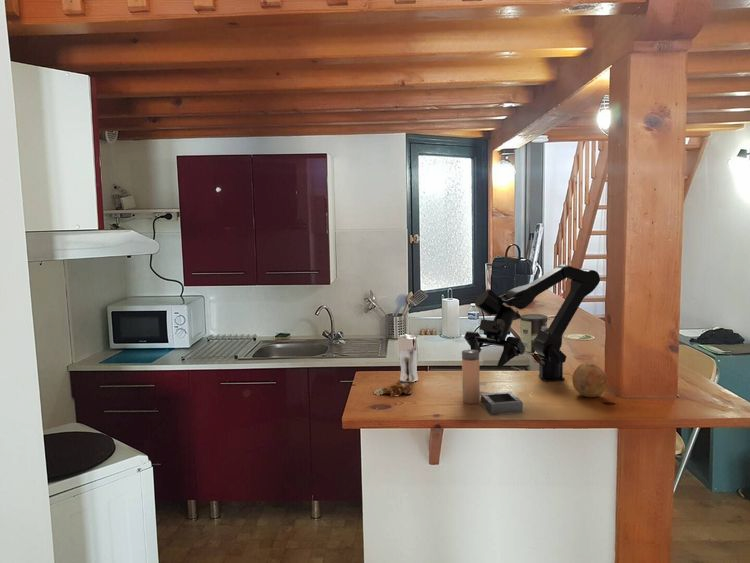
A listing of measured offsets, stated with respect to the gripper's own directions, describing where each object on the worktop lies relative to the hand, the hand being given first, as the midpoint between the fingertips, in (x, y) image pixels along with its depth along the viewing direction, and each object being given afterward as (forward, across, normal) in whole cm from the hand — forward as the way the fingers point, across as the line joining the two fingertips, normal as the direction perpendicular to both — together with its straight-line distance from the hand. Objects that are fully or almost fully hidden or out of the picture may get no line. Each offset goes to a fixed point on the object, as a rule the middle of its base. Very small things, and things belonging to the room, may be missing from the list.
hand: (484, 365), depth 170 cm
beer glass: (+8, -28, +5) cm, 30 cm away
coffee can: (-32, -10, +45) cm, 56 cm away
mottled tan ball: (-5, +26, +18) cm, 32 cm away
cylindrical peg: (+12, 0, +1) cm, 12 cm away
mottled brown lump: (+18, -24, -4) cm, 30 cm away
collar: (+12, +10, +1) cm, 16 cm away
